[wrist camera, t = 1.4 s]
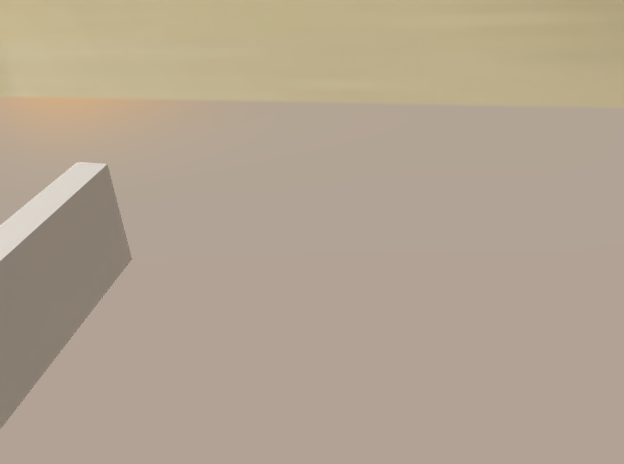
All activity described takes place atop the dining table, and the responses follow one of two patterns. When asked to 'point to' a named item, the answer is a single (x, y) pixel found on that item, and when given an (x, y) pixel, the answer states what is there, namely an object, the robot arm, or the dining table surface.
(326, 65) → the dining table surface
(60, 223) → the robot arm
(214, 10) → the dining table surface
